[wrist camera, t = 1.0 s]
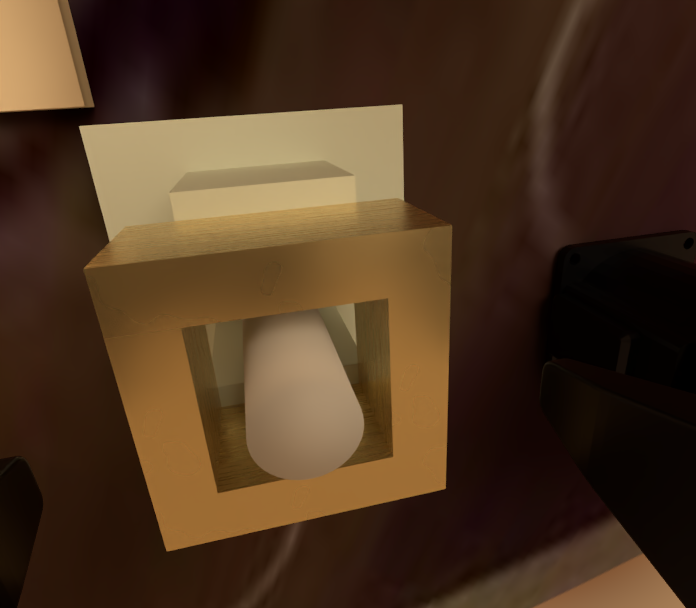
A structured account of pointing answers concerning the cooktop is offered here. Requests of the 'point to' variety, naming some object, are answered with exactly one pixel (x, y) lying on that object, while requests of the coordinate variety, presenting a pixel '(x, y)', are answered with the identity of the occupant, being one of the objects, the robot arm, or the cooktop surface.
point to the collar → (263, 300)
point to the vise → (253, 197)
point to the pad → (40, 58)
